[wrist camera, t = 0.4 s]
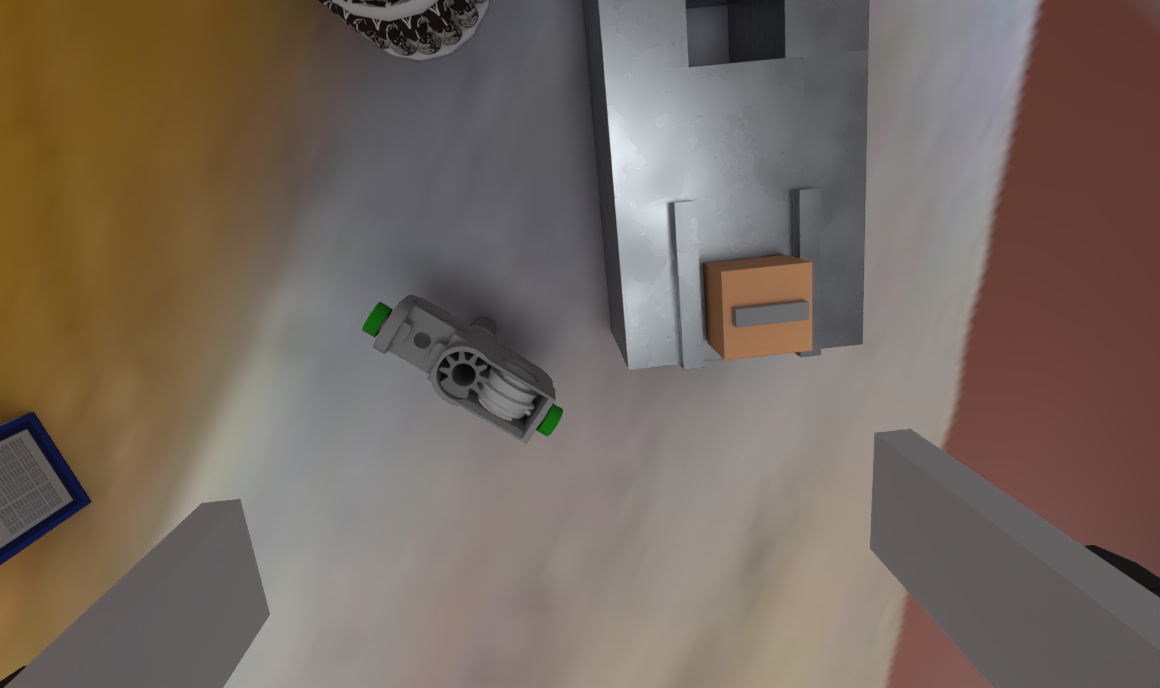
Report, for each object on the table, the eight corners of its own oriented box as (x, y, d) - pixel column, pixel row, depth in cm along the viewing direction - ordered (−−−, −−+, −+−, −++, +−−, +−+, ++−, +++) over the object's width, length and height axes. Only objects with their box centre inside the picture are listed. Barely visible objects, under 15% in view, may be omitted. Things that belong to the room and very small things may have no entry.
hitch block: (577, -59, 34) (588, -151, 24) (793, -78, 34) (885, -177, 25) (611, 331, 39) (631, 375, 30) (796, 311, 39) (872, 349, 30)
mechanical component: (424, 265, 37) (381, 293, 28) (565, 351, 39) (571, 405, 30) (400, 306, 38) (350, 347, 28) (540, 389, 40) (538, 454, 30)
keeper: (703, 263, 29) (725, 273, 26) (786, 254, 30) (817, 263, 26) (707, 343, 30) (728, 363, 27) (787, 334, 31) (818, 353, 27)
